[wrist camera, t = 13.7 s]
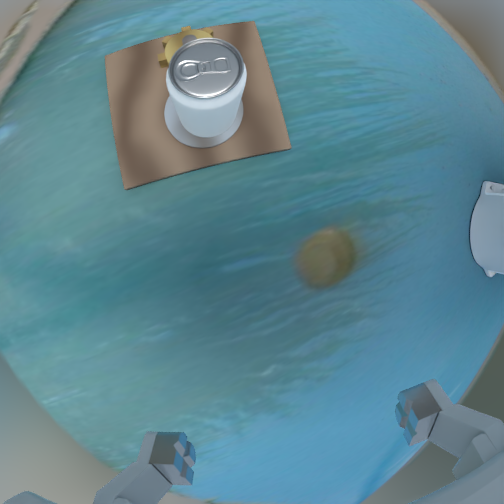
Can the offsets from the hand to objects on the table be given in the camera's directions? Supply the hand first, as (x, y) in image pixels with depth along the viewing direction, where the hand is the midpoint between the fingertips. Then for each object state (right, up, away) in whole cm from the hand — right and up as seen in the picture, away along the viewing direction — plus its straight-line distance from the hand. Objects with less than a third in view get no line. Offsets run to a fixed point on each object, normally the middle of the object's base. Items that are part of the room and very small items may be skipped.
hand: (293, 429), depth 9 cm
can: (-6, +22, +21) cm, 31 cm away
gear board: (-9, +25, +21) cm, 34 cm away
